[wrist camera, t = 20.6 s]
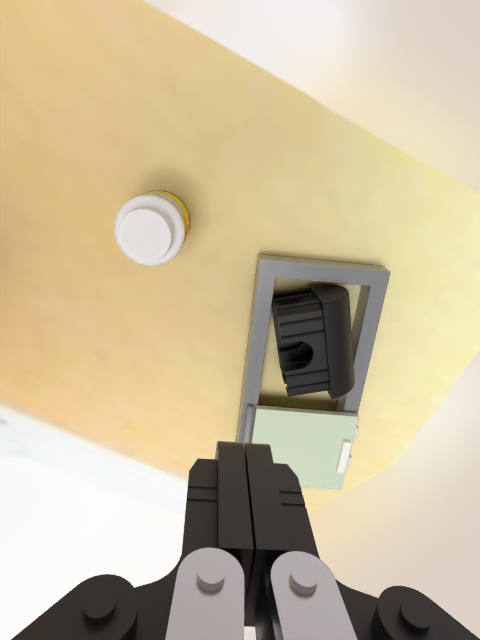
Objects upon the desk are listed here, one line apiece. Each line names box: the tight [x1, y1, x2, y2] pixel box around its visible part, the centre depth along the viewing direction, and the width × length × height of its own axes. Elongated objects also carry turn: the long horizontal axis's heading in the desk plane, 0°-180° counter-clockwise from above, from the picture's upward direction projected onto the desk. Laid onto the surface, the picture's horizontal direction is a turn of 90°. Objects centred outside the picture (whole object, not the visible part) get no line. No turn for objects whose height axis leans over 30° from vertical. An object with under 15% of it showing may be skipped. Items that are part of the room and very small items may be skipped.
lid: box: [243, 405, 359, 490], centre depth 46 cm, size 12×10×1 cm
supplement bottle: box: [114, 191, 190, 266], centre depth 35 cm, size 6×6×10 cm
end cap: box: [271, 284, 355, 399], centre depth 42 cm, size 10×7×7 cm
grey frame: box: [236, 254, 390, 466], centre depth 45 cm, size 13×26×2 cm, turn 174°
